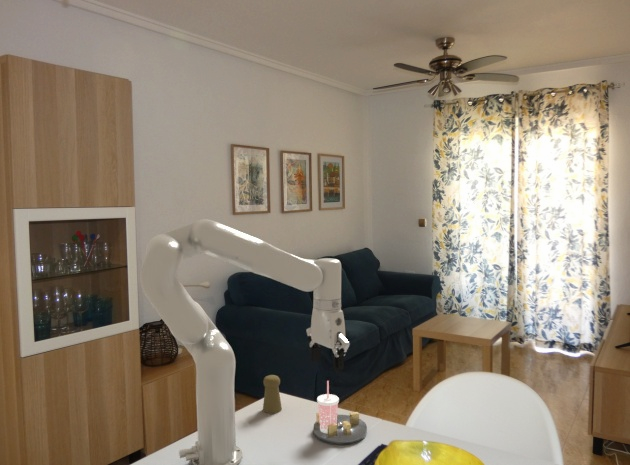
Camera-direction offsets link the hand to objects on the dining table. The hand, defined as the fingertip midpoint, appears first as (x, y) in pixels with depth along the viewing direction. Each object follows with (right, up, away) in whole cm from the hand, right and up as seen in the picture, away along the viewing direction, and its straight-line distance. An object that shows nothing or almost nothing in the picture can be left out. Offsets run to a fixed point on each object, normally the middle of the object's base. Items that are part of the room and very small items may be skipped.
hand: (326, 365), depth 140 cm
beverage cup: (+1, -19, +3) cm, 19 cm away
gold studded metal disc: (+4, -20, +4) cm, 21 cm away
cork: (-17, -20, +20) cm, 32 cm away
